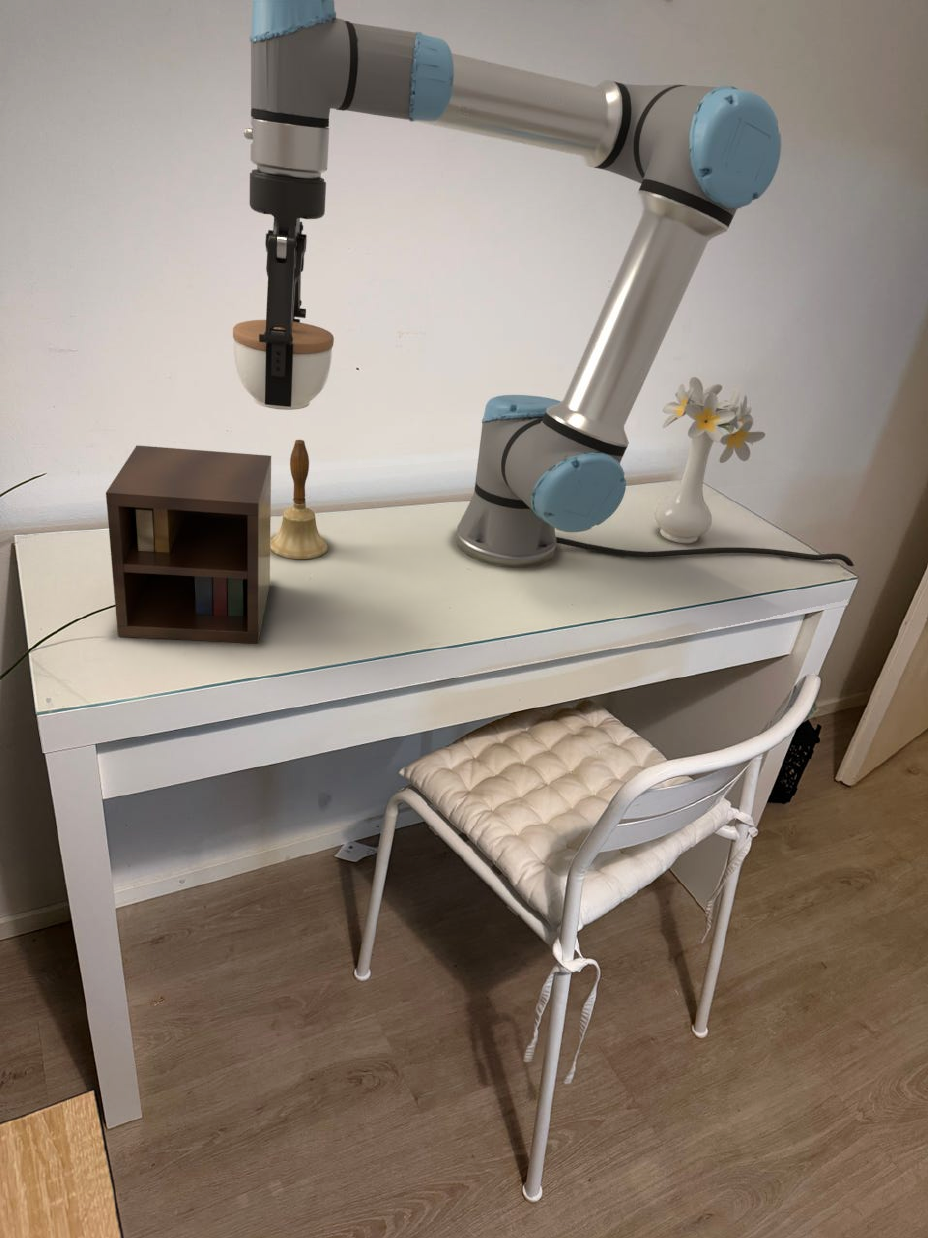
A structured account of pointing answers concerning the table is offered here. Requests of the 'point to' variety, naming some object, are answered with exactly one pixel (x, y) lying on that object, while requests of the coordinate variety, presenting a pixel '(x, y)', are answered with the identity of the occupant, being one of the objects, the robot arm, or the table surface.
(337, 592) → the table surface
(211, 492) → the bookshelf
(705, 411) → the flower vase
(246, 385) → the trinket box
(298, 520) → the hand bell
